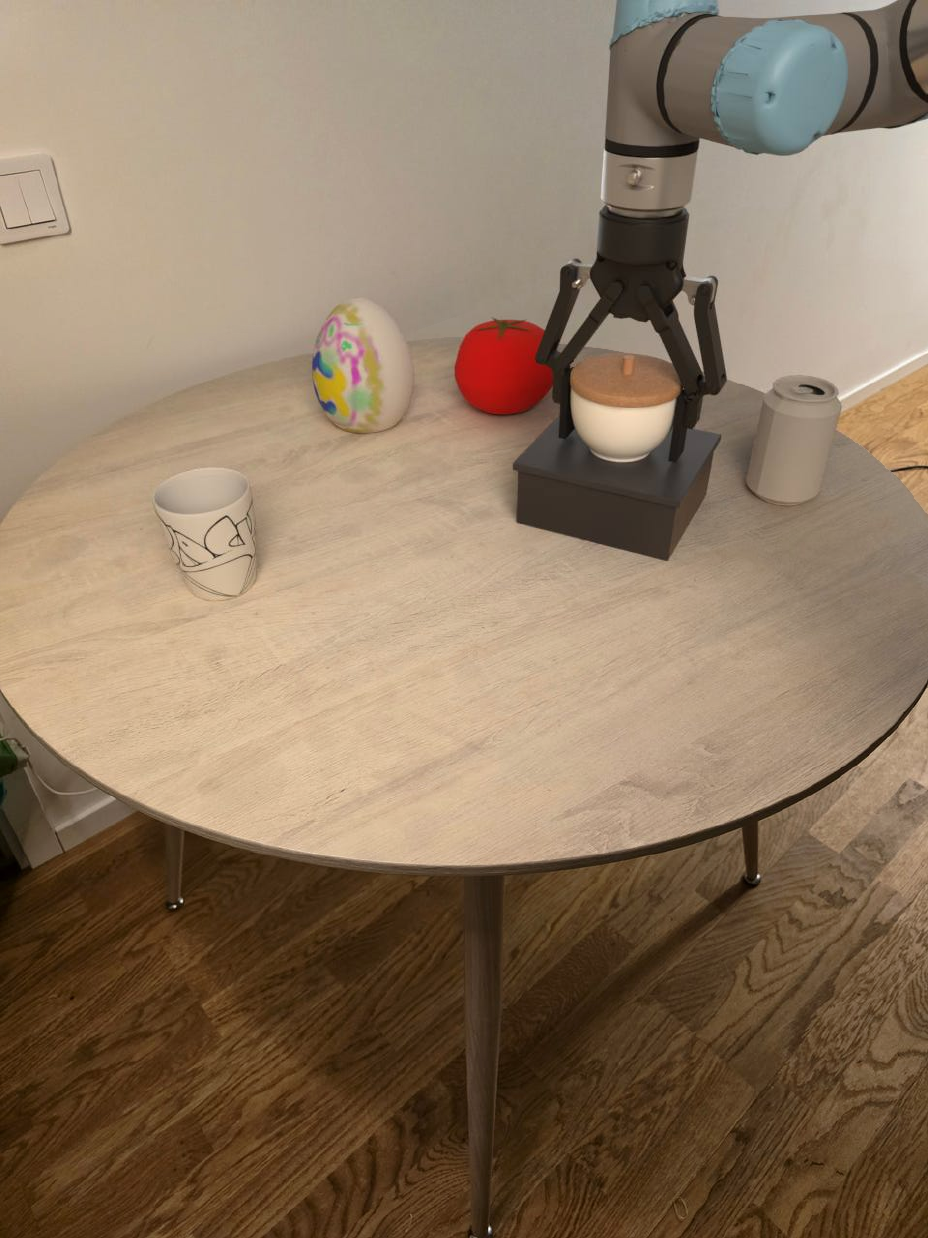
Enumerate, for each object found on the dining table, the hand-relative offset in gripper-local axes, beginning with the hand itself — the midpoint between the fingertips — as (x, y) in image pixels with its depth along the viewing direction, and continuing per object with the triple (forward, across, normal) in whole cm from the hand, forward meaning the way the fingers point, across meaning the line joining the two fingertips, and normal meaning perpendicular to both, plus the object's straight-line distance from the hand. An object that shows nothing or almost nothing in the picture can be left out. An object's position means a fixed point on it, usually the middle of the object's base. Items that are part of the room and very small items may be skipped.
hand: (620, 444), depth 86 cm
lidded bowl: (+1, 0, 0) cm, 1 cm away
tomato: (+8, -21, +18) cm, 29 cm away
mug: (+8, -30, -28) cm, 42 cm away
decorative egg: (+8, -35, +7) cm, 36 cm away
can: (+8, +15, +11) cm, 20 cm away
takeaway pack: (+7, 0, 0) cm, 7 cm away
